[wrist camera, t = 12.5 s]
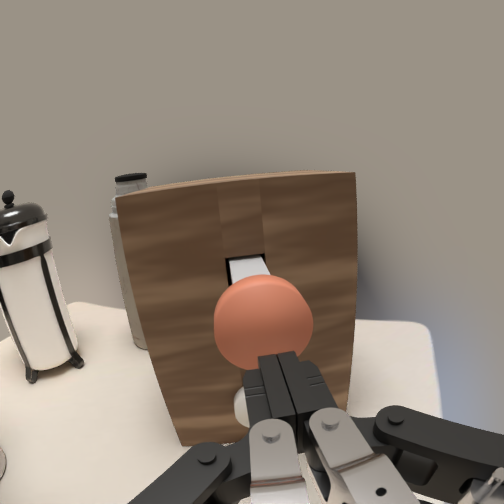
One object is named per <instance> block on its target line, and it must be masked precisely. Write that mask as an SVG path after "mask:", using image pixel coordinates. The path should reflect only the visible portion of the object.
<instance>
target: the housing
mask: <svg viewBox="0 0 504 504" xmlns="http://www.w3.org/2000/svg"><path fill="white" fill-rule="evenodd" d="M115 202H116V208H117V215H118V221H119V227H120V233H121V239H122V244H123V249H124V255H125V260H126V264H127V269H128V274H129V278H130V283H131V287H132V292H133V296H134V300H135V304H136V308H137V312H138V316H139V320H140V323H141V327H142V331H143V334H144V338H145V341H146V345H147V348H148V352H149V355H150V358H151V361H152V365H153V368H154V371H155V374H156V377H157V380H158V383H159V386H160V389H161V392H162V395H163V398H164V400H165V403H166V406H167V409H168V411H169V414H170V417H171V419H172V422H173V425H174V427H175V430H176V432H177V435H178V437H179V440H180V442H181V444H182V446H194V445H196V444H199V443H203V442H215V443H219V444H223V443H233V442H238V441H240V440H241V439H243V438H244V437H245V436H246V434H247V433H248V431H249V428H248V427H246V426H244V425H242V424H241V423H239V422H238V420H237V419H236V416H235V410H234V397H235V395H236V393H237V392H238V390H239V389H241V388H242V387H243V377H244V375H245V372H246V369H242V368H240V367H237V366H235V365H234V364H232V363H231V362H229V361H228V360H227V359H226V358H225V357H224V356H223V355H222V354H221V352H220V351H219V349H218V347H217V345H216V341H215V337H214V312H215V307H216V305H217V302H218V300H219V298H220V297H221V295H222V294H223V293H224V292H225V291H226V289H227V288H229V287H230V286H231V285H232V282H231V276H230V269H229V261H228V258H230V257H238V256H246V255H254V254H260V256H261V258H262V259H263V261H264V263H265V265H266V267H267V269H268V271H269V273H270V275H273V276H277V277H280V278H283V279H285V280H287V281H288V282H290V283H291V284H292V285H293V286H294V287H296V289H297V290H298V291H299V292H300V294H301V295H302V297H303V298H304V300H305V301H306V303H307V305H308V306H309V308H310V310H311V313H312V317H313V331H312V336H311V338H310V341H309V343H308V345H307V346H306V348H305V349H304V351H303V352H302V353H301V354H300V355H299V356H298V360H299V362H301V361H307V360H309V361H311V362H312V363H313V364H315V365H316V366H317V367H318V368H319V370H320V372H321V374H322V376H323V378H324V380H325V383H326V384H327V386H328V388H329V390H330V392H331V394H332V396H333V398H334V400H335V402H336V404H337V406H338V408H339V409H341V410H343V411H345V412H346V407H347V400H348V392H349V383H350V375H351V365H352V355H353V343H354V330H355V313H356V293H357V291H356V290H357V198H356V177H355V172H339V171H315V170H314V171H313V170H300V171H286V172H272V173H261V174H249V175H239V176H230V177H220V178H212V179H204V180H195V181H188V182H181V183H173V184H167V185H160V186H153V187H149V188H146V189H142V190H139V191H136V192H132V193H129V194H126V195H122V196H119V197H116V198H115Z"/></svg>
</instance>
